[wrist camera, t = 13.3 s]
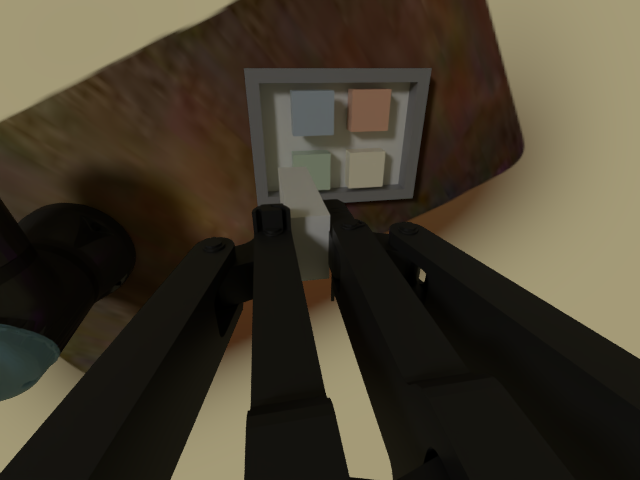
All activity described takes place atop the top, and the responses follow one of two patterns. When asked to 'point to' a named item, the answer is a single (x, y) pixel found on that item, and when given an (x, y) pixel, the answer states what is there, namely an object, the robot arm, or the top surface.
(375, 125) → the key terracotta
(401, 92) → the grey tray
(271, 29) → the top surface
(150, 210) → the top surface
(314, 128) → the key slate
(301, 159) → the key sage
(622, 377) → the robot arm
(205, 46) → the top surface
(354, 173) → the key cream
